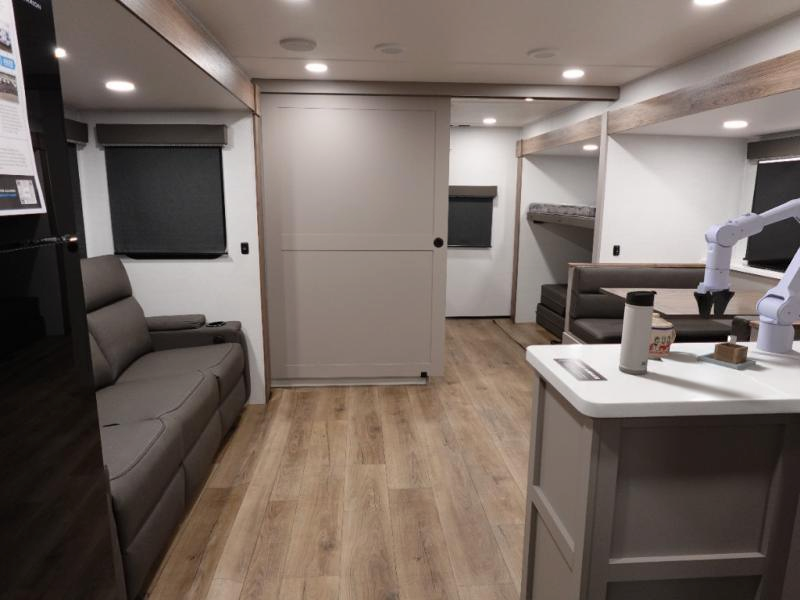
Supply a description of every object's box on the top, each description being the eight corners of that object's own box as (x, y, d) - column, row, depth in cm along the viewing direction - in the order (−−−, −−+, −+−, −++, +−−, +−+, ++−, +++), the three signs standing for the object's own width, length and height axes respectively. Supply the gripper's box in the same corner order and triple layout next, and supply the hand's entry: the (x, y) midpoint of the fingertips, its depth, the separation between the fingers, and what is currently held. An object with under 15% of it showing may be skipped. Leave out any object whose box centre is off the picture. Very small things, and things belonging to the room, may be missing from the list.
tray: (716, 358, 145) (717, 351, 145) (755, 368, 137) (756, 360, 137) (697, 363, 140) (698, 356, 139) (736, 373, 132) (737, 365, 132)
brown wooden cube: (723, 360, 141) (725, 342, 141) (745, 365, 137) (748, 346, 136) (712, 363, 139) (715, 344, 138) (734, 368, 134) (737, 349, 133)
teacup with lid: (650, 361, 141) (655, 317, 139) (625, 352, 149) (629, 311, 147) (685, 358, 145) (691, 315, 143) (659, 349, 153) (664, 309, 151)
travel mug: (650, 376, 128) (660, 293, 125) (621, 373, 129) (629, 291, 126) (644, 368, 134) (653, 289, 131) (616, 366, 135) (624, 287, 132)
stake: (723, 354, 149) (726, 332, 148) (745, 359, 144) (748, 337, 143) (713, 357, 146) (716, 335, 145) (735, 362, 141) (738, 339, 140)
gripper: (716, 266, 155) (710, 312, 158) (688, 268, 147) (682, 316, 150) (742, 268, 149) (735, 316, 152) (715, 271, 141) (708, 321, 144)
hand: (711, 317), depth 150 cm, fingers open, 7 cm apart
